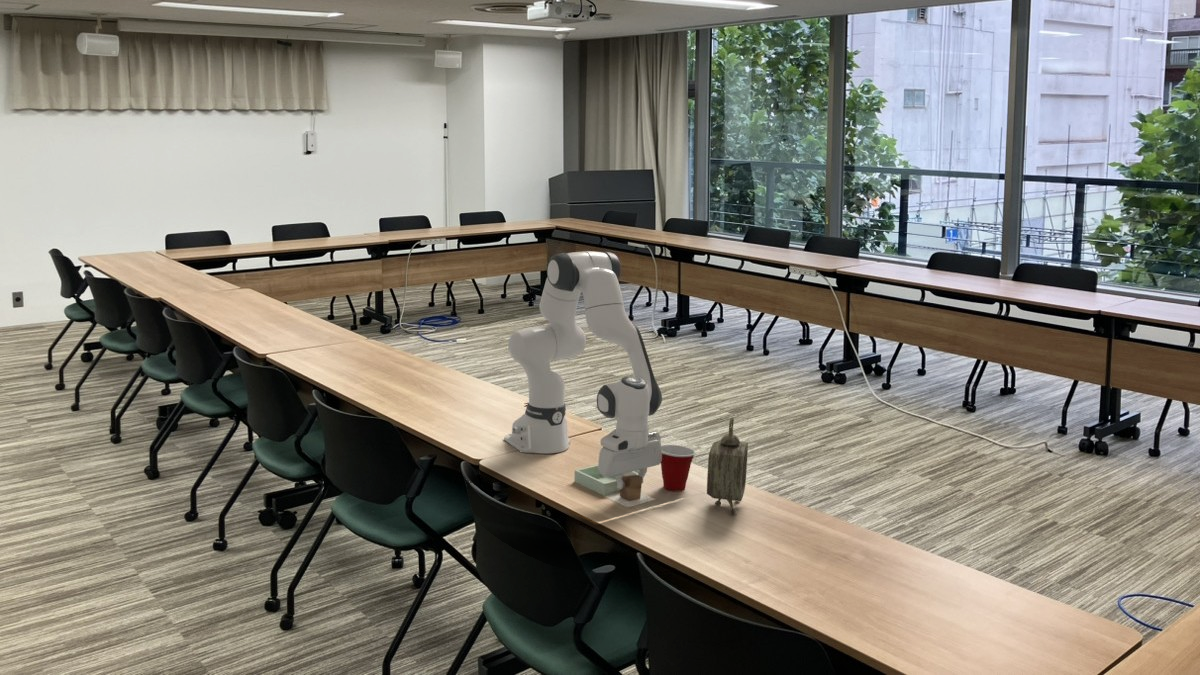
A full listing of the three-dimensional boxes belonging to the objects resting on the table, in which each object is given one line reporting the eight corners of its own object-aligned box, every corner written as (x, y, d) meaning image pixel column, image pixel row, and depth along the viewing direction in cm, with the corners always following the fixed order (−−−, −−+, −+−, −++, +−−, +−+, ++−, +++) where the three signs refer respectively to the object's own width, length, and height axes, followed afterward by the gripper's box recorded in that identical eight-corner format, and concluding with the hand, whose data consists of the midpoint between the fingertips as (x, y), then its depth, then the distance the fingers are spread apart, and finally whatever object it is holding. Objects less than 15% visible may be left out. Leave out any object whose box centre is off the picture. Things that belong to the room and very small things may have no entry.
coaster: (604, 498, 281) (604, 496, 281) (631, 490, 287) (631, 488, 287) (627, 509, 274) (627, 507, 273) (655, 501, 280) (655, 499, 280)
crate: (574, 483, 292) (574, 470, 291) (610, 474, 300) (611, 461, 299) (604, 497, 282) (604, 483, 281) (640, 487, 290) (641, 474, 289)
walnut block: (619, 496, 281) (621, 475, 280) (630, 494, 283) (632, 473, 282) (629, 500, 278) (631, 479, 277) (640, 498, 280) (642, 477, 279)
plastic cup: (702, 491, 288) (704, 450, 286) (672, 498, 282) (674, 457, 280) (677, 480, 297) (678, 440, 295) (647, 487, 291) (649, 446, 288)
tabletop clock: (739, 518, 269) (744, 427, 264) (704, 514, 271) (709, 424, 266) (744, 499, 283) (750, 412, 278) (712, 496, 285) (716, 409, 280)
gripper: (652, 428, 286) (650, 475, 288) (595, 440, 273) (594, 489, 276) (668, 433, 281) (666, 481, 284) (610, 446, 268) (609, 496, 271)
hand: (630, 485), depth 280 cm, fingers open, 5 cm apart
